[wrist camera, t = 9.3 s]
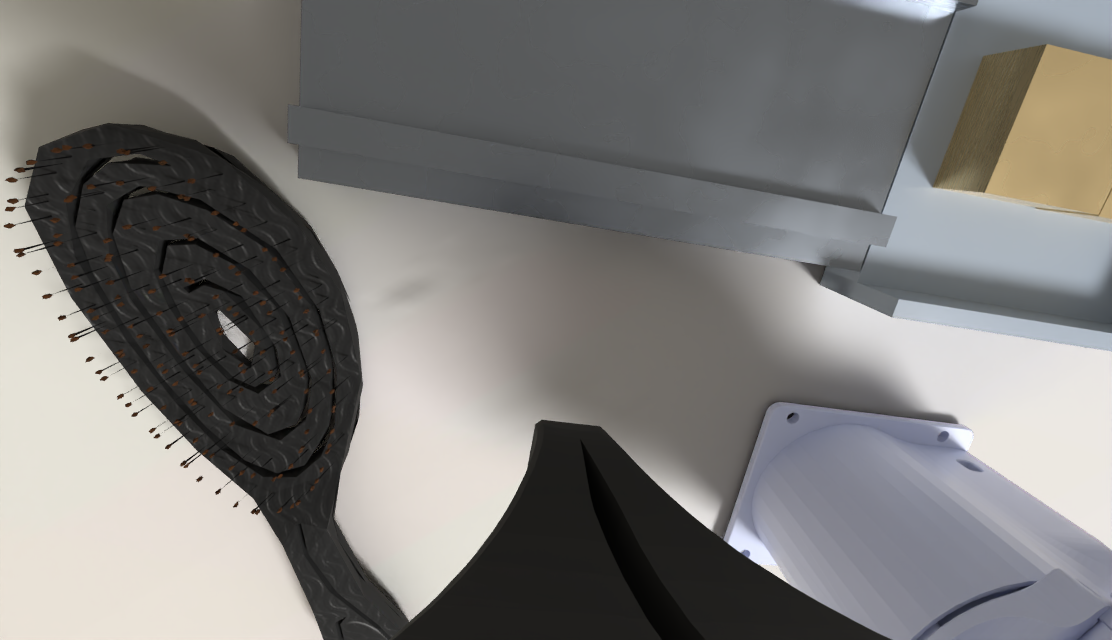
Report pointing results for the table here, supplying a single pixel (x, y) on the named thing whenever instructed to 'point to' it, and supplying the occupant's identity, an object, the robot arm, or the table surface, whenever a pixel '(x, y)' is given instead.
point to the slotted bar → (627, 112)
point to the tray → (989, 206)
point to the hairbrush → (219, 331)
